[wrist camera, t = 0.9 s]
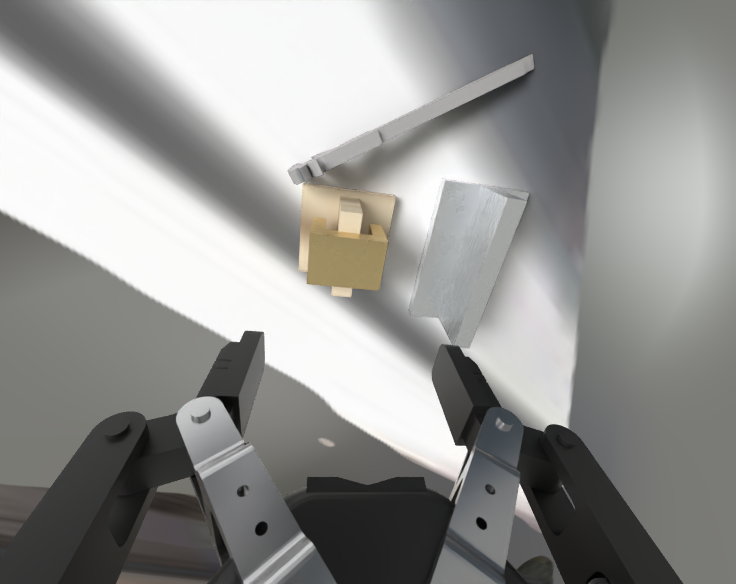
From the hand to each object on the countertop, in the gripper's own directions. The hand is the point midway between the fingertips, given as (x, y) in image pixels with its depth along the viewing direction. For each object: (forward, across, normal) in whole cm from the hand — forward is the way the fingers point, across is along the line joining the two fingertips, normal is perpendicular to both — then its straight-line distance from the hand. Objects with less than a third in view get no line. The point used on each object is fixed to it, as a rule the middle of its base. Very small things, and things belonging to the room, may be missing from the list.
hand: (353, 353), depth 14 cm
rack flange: (+17, -12, +1) cm, 21 cm away
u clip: (+14, 0, 0) cm, 14 cm away
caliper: (+18, -4, -10) cm, 21 cm away
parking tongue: (+17, 0, 0) cm, 17 cm away
